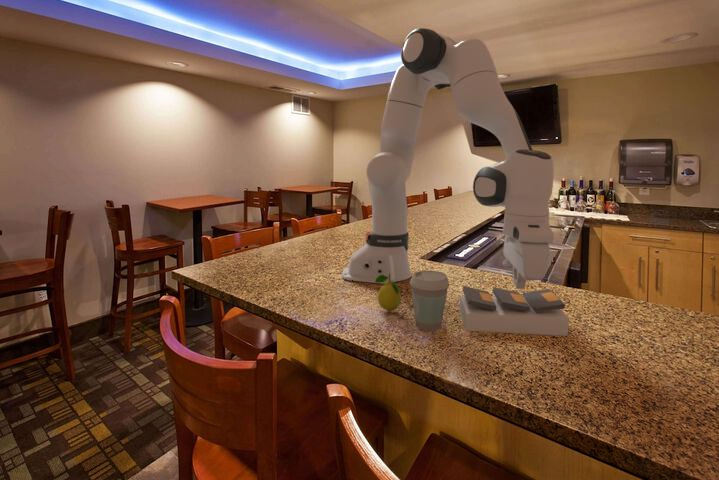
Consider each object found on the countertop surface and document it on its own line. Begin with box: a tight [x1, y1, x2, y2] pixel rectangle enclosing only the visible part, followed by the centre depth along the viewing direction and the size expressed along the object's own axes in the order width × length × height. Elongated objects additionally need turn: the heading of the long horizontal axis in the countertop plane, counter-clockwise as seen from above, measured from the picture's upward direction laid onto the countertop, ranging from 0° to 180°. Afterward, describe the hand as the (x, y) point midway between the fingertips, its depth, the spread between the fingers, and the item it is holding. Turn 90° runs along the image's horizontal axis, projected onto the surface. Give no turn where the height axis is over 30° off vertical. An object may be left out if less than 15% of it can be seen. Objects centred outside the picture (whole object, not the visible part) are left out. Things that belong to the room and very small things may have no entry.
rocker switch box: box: [458, 294, 570, 337], centre depth 84 cm, size 21×11×4 cm, turn 82°
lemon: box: [375, 274, 403, 313], centre depth 90 cm, size 7×6×10 cm
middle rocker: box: [492, 287, 531, 312], centre depth 84 cm, size 6×9×1 cm, turn 173°
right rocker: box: [522, 288, 566, 312], centre depth 83 cm, size 6×9×1 cm, turn 170°
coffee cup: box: [409, 270, 450, 332], centre depth 82 cm, size 8×8×12 cm
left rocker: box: [462, 285, 497, 311], centre depth 85 cm, size 6×9×1 cm, turn 174°
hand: (518, 286), depth 83 cm, fingers closed
